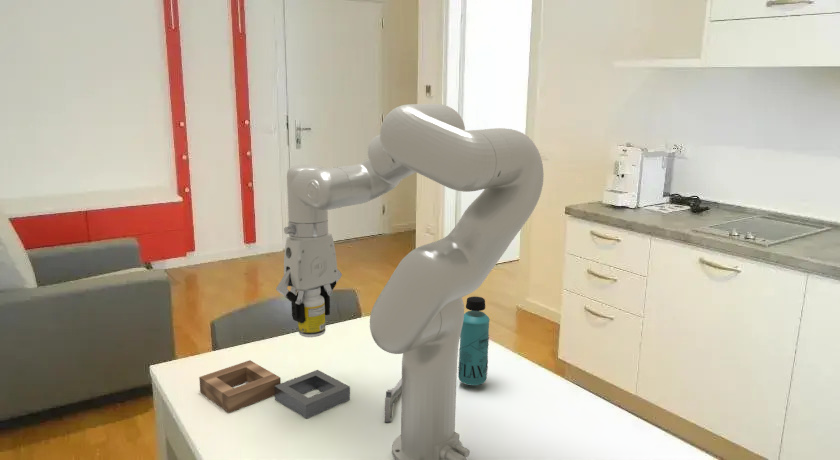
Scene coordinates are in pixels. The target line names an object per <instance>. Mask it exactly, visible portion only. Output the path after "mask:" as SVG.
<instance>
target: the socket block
mask: <svg viewBox="0 0 840 460" xmlns="http://www.w3.org/2000/svg"><path fill="white" fill-rule="evenodd" d="M274 390H275V395H274V400H275V401H277V402H279V403H280V404H282V405H283V406H285V407H286V408H288V409H289V410H291V411H293V412H295V413H296V414H297V415H300V416H301V417H303V418H304V419H306V420H307V419H310V418H311V417H314V416H316V415H318V414H322V413H323V412H325V411H327V410H330V409H332V408H335V407H337V406H339V405H341V404H345V403H346V402H348V401H350V400H351V386H350V385H348V384H346V383H344V382H342V381H340V380H338V379H336V378H334V377H333V376H330V375H328V374H327V373H325V372H322V371H321V370H319V369H316V370H313V371H311V372H308V373H306V374H303V375H300V376H297V377H295V378H291V379H289V380H287V381H284V382H281V384H278V385H276V386H274ZM313 390H318V391H319V393H317V394H314V395H312V396H310V397H308V396H306V395H304V394H306V393H308V392H310V391H313Z"/></svg>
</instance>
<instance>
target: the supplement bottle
mask: <svg viewBox="0 0 840 460" xmlns="http://www.w3.org/2000/svg"><path fill="white" fill-rule="evenodd" d="M320 293H321V288H320V287H316V288H312V289H308V290H304V294H303V298H302V302H301V303H304V311H305V322H304V323H300V322H297V324H298V325H297V326H298V327H297V328H298V334H299V335H300V336H301V337H303V338H316V337H320V336H323V335H324V334H325V333H326V315H325V301H324V297H323V296H321V295H320Z"/></svg>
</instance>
